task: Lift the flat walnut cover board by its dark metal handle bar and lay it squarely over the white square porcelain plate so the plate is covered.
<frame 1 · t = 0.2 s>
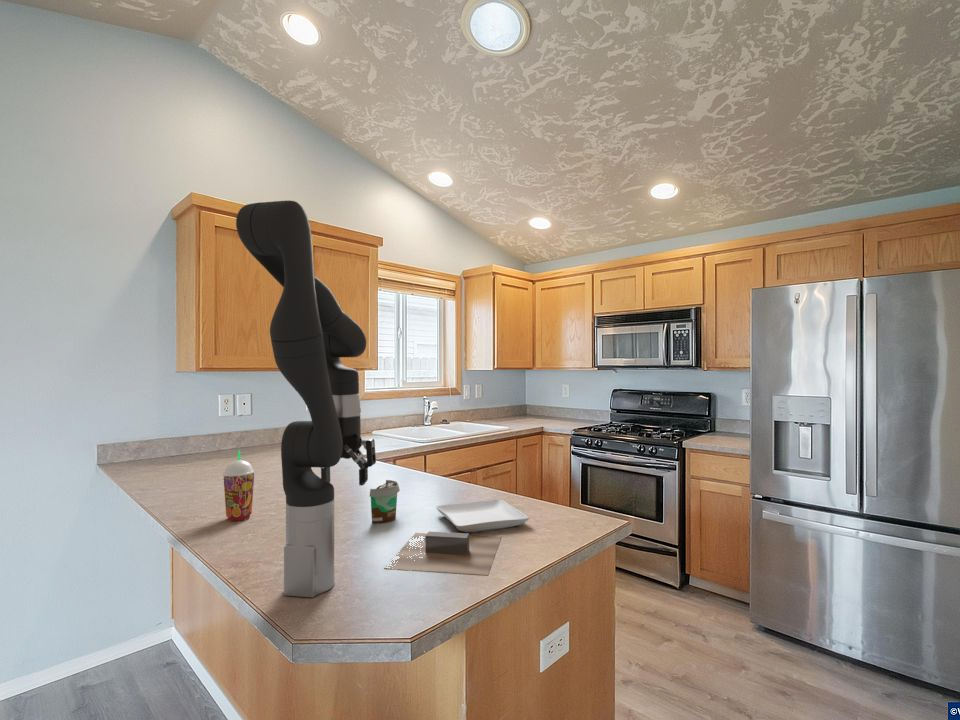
hand: (344, 484, 110), 17 cm above the counter, tool pointing down, fingers open, 8 cm apart
smoothie: (239, 519, 141), on the counter
salad plate: (480, 523, 137), on the counter
cover board: (447, 554, 114), on the counter
food container: (388, 519, 140), on the counter
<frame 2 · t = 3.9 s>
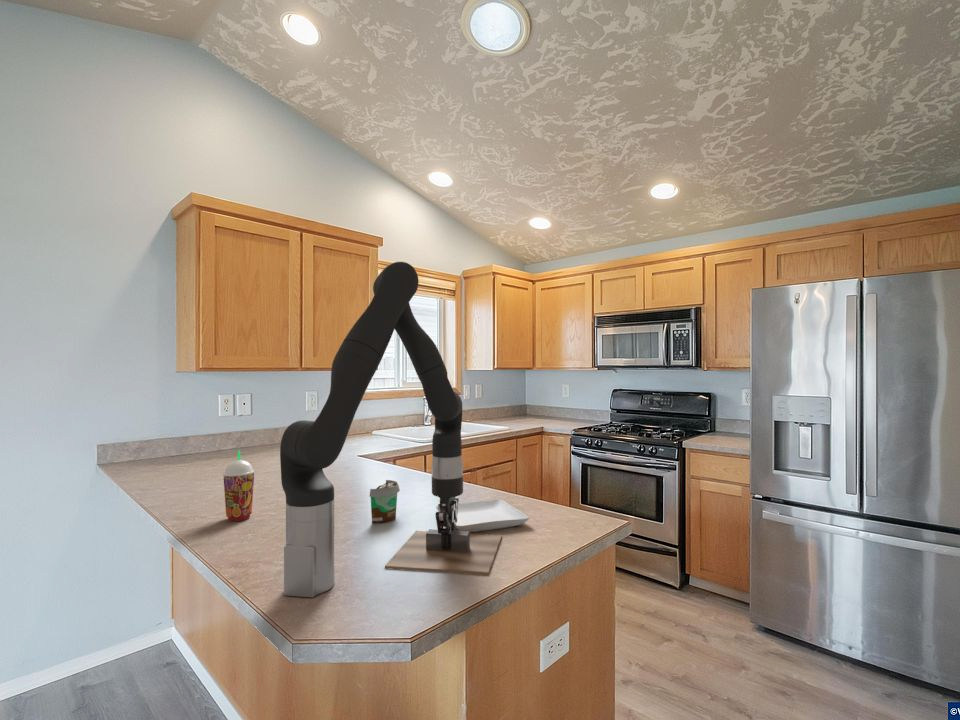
hand: (448, 546, 115), 1 cm above the counter, tool pointing down, fingers closed on cover board, 3 cm apart
cover board: (448, 552, 115), on the counter, touching gripper
everything else where it was.
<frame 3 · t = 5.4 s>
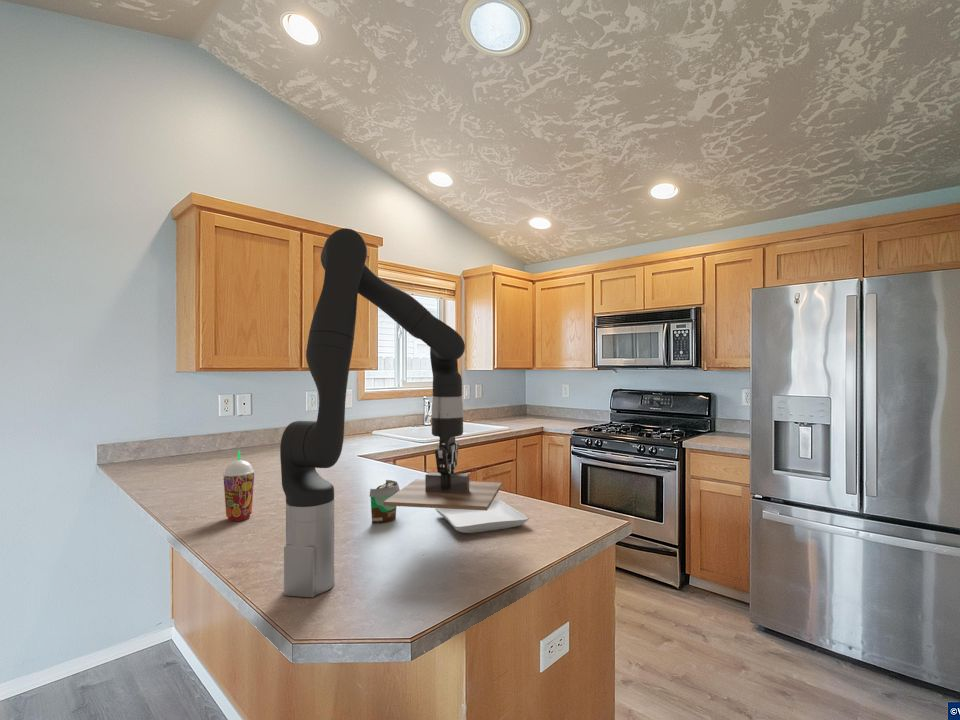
hand: (447, 487, 114), 15 cm above the counter, tool pointing down, fingers closed on cover board, 3 cm apart
cover board: (447, 494, 114), point 14 cm above the counter, touching gripper
everything else where it was.
when the fingers open (6 cm above the counter, at t = 9.8 s): cover board stays where it is, resting on salad plate.
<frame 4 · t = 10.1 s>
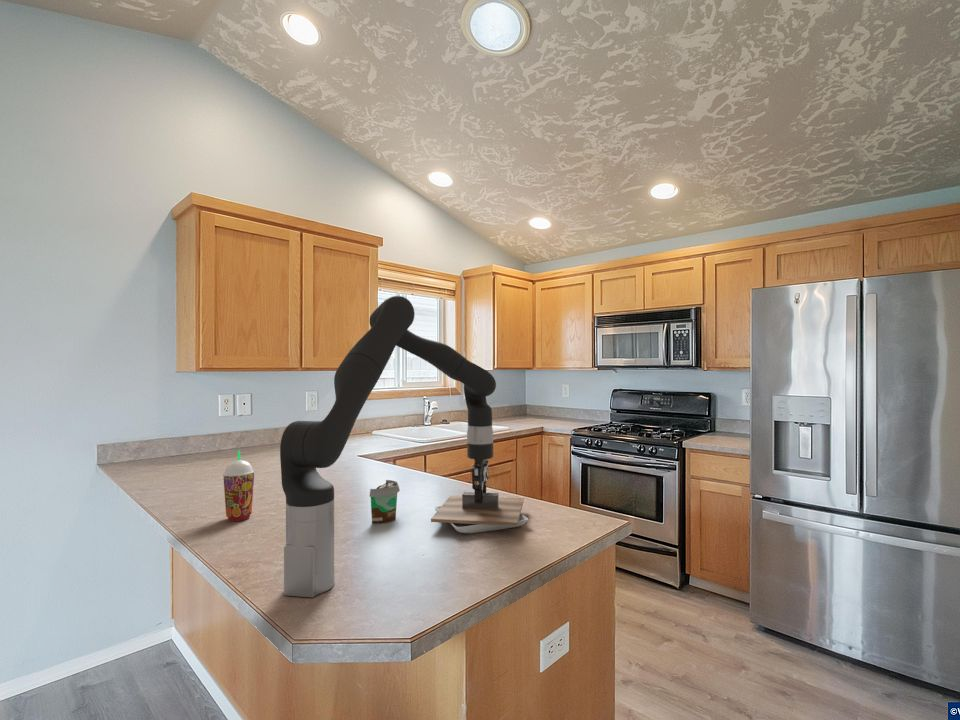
hand: (480, 499, 138), 6 cm above the counter, tool pointing down, fingers open, 6 cm apart
salad plate: (479, 524, 137), on the counter, touching cover board
cover board: (480, 510, 137), point 3 cm above the counter, touching salad plate
everything else where it was.
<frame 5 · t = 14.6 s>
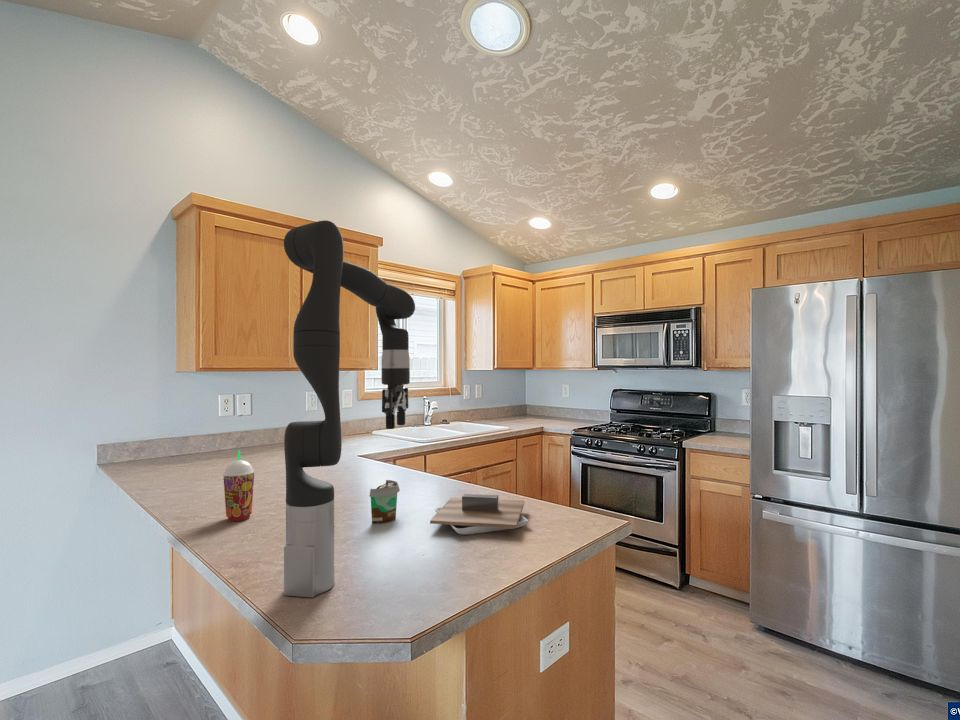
hand: (395, 426, 130), 28 cm above the counter, tool pointing down, fingers open, 8 cm apart
nothing on the counter moved.
at the end: cover board 0.4 cm from the salad plate (horizontally); cover board point 2.5 cm above the counter; the gripper is holding nothing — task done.
